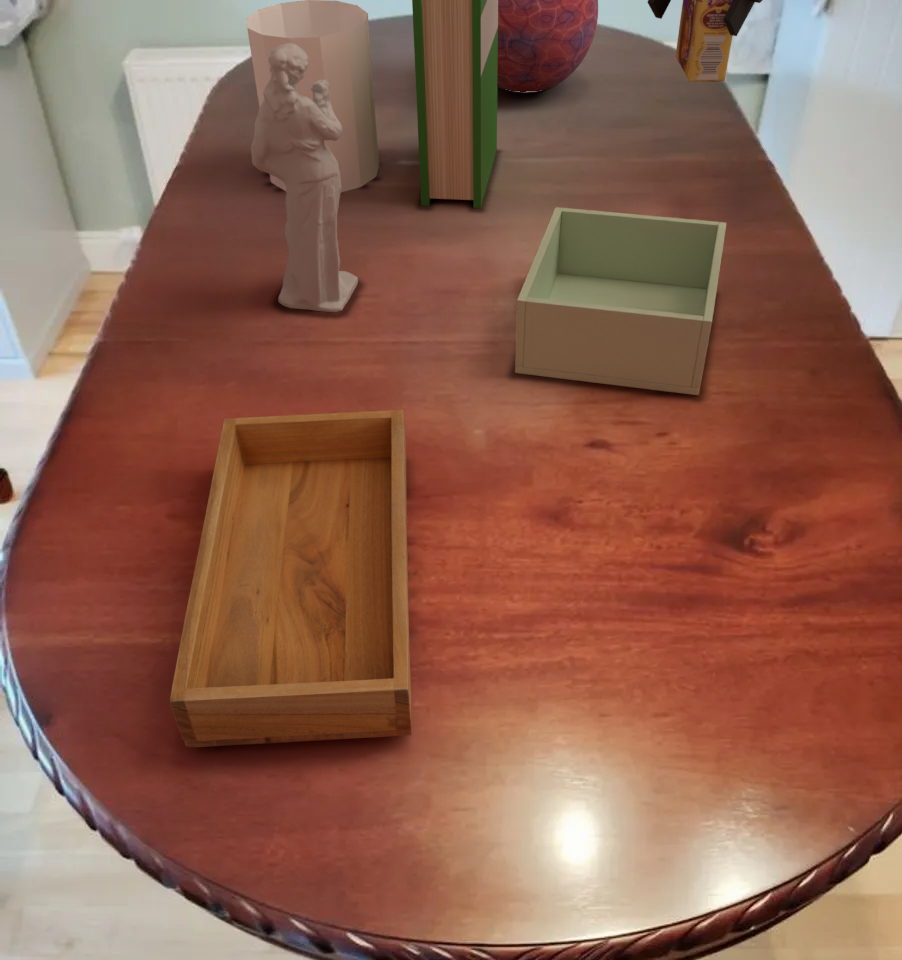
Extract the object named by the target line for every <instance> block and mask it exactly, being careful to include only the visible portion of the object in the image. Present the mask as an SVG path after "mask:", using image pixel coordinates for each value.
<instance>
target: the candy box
mask: <svg viewBox="0 0 902 960" xmlns="http://www.w3.org/2000/svg"><path fill="white" fill-rule="evenodd" d="M732 2H733V0H682V4H681V11H680V19H679V26H678V35H677V43H676V50H675V58H676V60H677V62H678V64H679V65H680V67H681V69H682V71H683V73H684V74H685V77H686V79H687V80H688V82H691V83H710V82H711V83H717V82H725V79H726V75H727V69H728V64H729V58H730V52H731V46H732V41H733V37H734V36H733V35H730V33H729V31H728V29H727V26H726V24H725V22H724V20H723V18H724V17H725V15H726V13H727V11H728V9H729V7H730V5H731V3H732Z"/></svg>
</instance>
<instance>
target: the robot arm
mask: <svg viewBox="0 0 902 960" xmlns="http://www.w3.org/2000/svg"><path fill="white" fill-rule="evenodd" d="M671 1H672V0H647V4H648V6H649V8H650V10H651V12H652V13H653V15H654V18H656V19H661V20H662V18H663V17H664V15H665V14H666V11H667V9H668V7H669V5H670V4H671ZM762 2H763V0H733V2H732V3H731V5H730V7H729V9H728V11H727V13H726V15H725V17H724V18H723V20H724V22H725V24H726V26H727V29H728V31H729V33H730V35H733V36H732V37H738V35H739V33H740V31H741V29H742V27H743V25H744V23H745V22H746V20H747V17H748V16H749V14H750V12H751V10H752V9H753V6H754V5H755V3H758V4H761V3H762Z"/></svg>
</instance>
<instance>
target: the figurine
mask: <svg viewBox="0 0 902 960" xmlns="http://www.w3.org/2000/svg"><path fill="white" fill-rule="evenodd" d="M307 61H308V56H307V54H306V52H305V51H303V49H301V48H300V47H299V46H298V45H296V44H292V43H285V44H282V45H280V46H278V47H276V48H275V49H273V50H272V51H271V56H270V57H269V63H270V72H271V73H272V75H271V79H270V81H269V82H268V84H267V85H266V87H265V89H264V92H263V95H264V100H263V102H262V104H261V106H260V107H259V106H258V111H257V115H256V118H255V122H254V134H253V139H252V144H251V147H250V153H251V162H252V163H251V165H252V166H253V167H255V168H256V169H257V170H258V171H260V172H262V173H263V172H264V173H266V174H269V175H270V174H271V175H273V176H275V177H277V178H278V179H280V180H281V181H283V182H284V183H285V185H286V191H285V192H286V195H285V213H286V222H285V224H284V232H283V235H284V238H285V241H286V244H287V250H288V251H287V252H288V254H287V256H288V257H287V262H286V267H285V270H284V274H283V277H282V287H281V289H280V293H279V295H278V299H277V301H278V303H279V304H281V306H283V307H286V308H288V309H297V310H309V311H310V310H311V311H318V312H324V313H325V312H326V313H327V312H328V313H337V312H338V313H339V312H342V311H343V310H344V308H345V306H347V304H348V302H349V300H350V299H351V297H352V295H353V293H354V291H355V289H356V288H357V286H358V285H359V278H358V276H356V275H354V274H353V273H351V272H348V271H345V270H340V268H341V258H340V257H341V256H340V249H339V241H338V213H339V206H340V199H341V193H342V192H341V189H342V187H341V178H340V171H339V164H338V161H337V160H336V158H335V157H334V155H333V154H332V152H331V151H330V149H329V148H328V146H327V145H326V144H325V143H324V141H325V140H332V141H336V140H338V139H339V138H340V136H341V134H342V126H341V123H340V122H339V121H338V119H337V117H336V116H335V114H334V112H333V109H332V106H331V99H330V94H329V90H328V89H329V86H330V85H329V84H328V82H327V81H326V80H317V82H315V83H313V87H311V90H312V92H313V100H311V99H310V98H308V97H306V96H303V95H300V94H298V93H297V90H296V84H297V83H298V82H299V81H300V80H301V79H303V78H304V77H305V75H304V72H305V70H306V69H307V67H308V62H307ZM340 192H341V193H340Z"/></svg>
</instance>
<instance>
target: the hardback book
mask: <svg viewBox="0 0 902 960" xmlns="http://www.w3.org/2000/svg"><path fill="white" fill-rule="evenodd" d="M411 5H412V29H413V50H414V52H413V54H414V72H415V73H414V74H415V93H416V94H415V95H416V97H415V98H416V117H417V118H416V120H417V138H418V139H417V140H418V141H417V142H418V159H419V160H418V162H419V163H418V164H419V165H418V166H419V181H420V182H419V184H420V185H419V186H420V187H419V188H420V204H421V206H422V207H423V206H425V207H429V206H430V203H431V201H432V199H438V200H461V201H463V200H464V201H472V203H473V205H472V206H473V209H481V208H482V206H483V202H484V199H485V195H486V191H487V187H488V184H489V180H490V176H491V173H492V168H493V166H494V161H495V158H496V154H497V149H498V87H497V68H498V0H411Z"/></svg>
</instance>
